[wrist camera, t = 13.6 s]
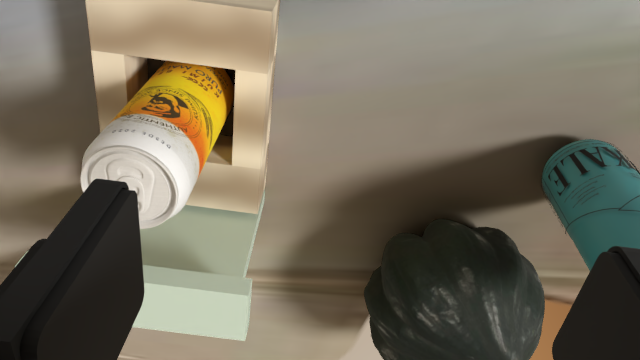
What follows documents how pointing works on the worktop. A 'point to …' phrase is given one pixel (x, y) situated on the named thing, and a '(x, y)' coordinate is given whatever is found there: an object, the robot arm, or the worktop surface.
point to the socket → (201, 49)
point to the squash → (455, 296)
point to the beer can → (162, 138)
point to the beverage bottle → (594, 196)
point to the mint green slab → (198, 272)
